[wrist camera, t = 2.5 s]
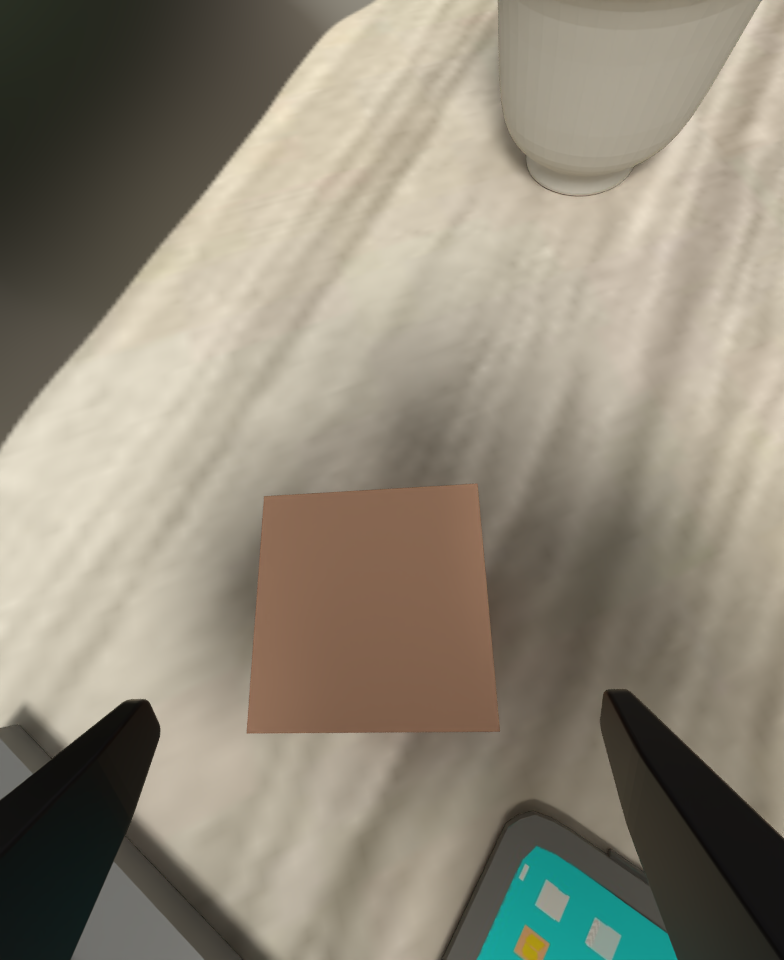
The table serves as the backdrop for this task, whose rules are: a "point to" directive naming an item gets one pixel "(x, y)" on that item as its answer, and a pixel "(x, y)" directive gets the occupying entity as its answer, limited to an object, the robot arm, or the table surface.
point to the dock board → (124, 890)
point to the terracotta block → (373, 614)
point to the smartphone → (558, 901)
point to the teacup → (607, 80)
